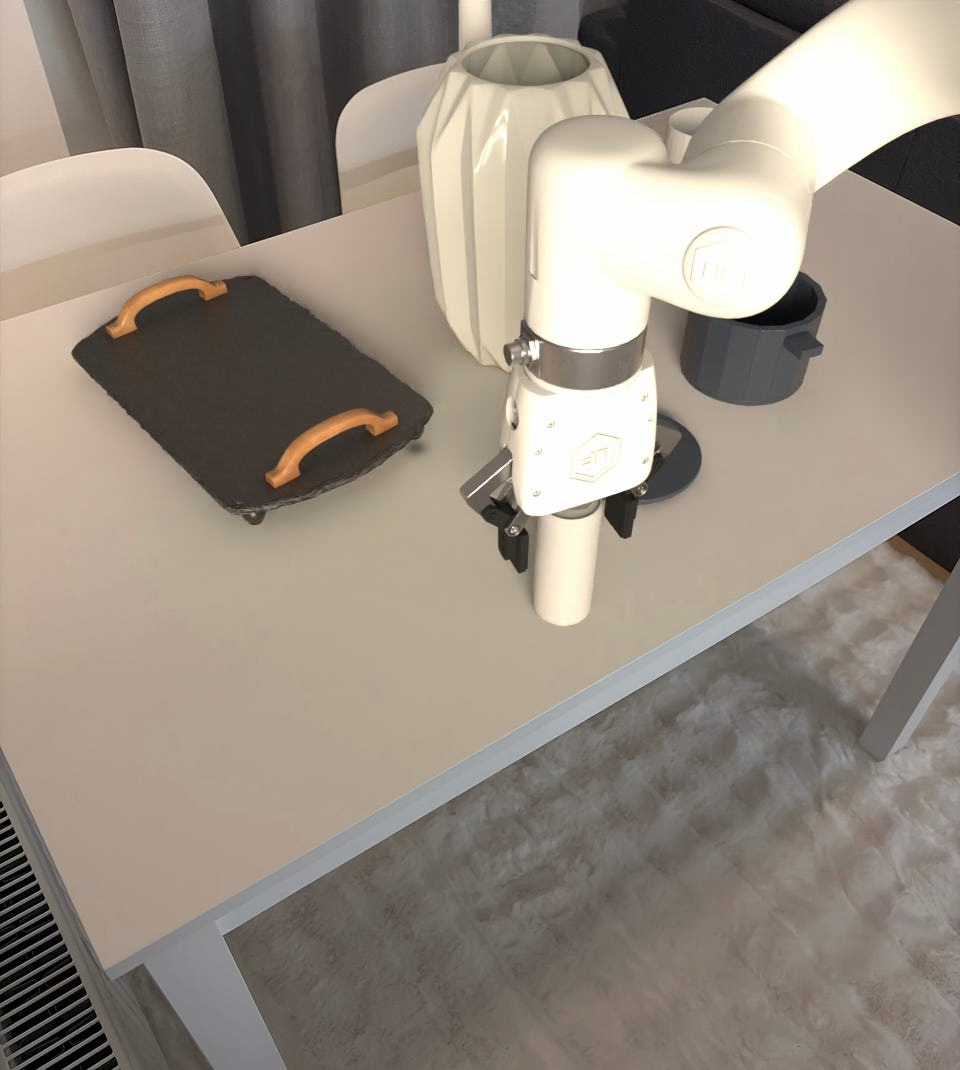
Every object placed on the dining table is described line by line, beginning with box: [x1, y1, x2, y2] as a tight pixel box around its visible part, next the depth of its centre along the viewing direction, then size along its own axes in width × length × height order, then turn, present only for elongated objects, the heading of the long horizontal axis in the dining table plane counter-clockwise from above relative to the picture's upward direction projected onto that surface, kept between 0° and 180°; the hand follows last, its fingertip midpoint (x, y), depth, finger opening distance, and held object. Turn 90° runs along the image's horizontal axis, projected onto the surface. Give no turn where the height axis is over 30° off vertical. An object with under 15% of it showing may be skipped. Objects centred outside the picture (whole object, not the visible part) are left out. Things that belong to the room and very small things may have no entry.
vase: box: [416, 32, 631, 374], centre depth 91 cm, size 20×20×28 cm
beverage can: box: [531, 498, 604, 627], centre depth 73 cm, size 5×5×12 cm
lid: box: [602, 411, 703, 505], centre depth 87 cm, size 14×14×6 cm
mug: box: [663, 106, 715, 164], centre depth 116 cm, size 13×9×10 cm
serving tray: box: [70, 274, 435, 526], centre depth 94 cm, size 39×23×6 cm, turn 40°
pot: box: [679, 270, 828, 406], centre depth 95 cm, size 13×18×8 cm
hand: (566, 542), depth 72 cm, fingers open, 8 cm apart
